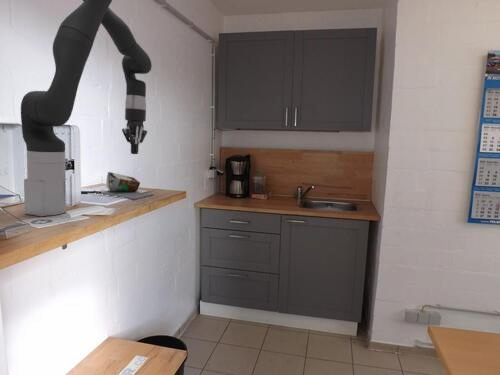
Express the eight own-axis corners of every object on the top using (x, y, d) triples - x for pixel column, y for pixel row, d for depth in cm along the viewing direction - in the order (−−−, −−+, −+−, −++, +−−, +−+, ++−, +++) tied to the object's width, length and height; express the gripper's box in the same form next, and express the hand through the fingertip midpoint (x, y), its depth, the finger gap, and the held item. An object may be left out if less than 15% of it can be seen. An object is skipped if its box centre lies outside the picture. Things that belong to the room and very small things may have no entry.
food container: (128, 191, 148) (103, 186, 142) (132, 176, 148) (107, 171, 142) (137, 198, 138) (110, 193, 132) (141, 183, 137) (114, 177, 132)
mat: (134, 199, 127) (134, 198, 127) (93, 194, 132) (93, 193, 132) (153, 195, 138) (153, 194, 138) (114, 190, 143) (114, 189, 143)
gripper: (133, 106, 129) (132, 154, 131) (154, 110, 142) (152, 154, 144) (115, 106, 131) (115, 153, 134) (137, 109, 144) (136, 153, 146)
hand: (134, 153), depth 139 cm, fingers closed
